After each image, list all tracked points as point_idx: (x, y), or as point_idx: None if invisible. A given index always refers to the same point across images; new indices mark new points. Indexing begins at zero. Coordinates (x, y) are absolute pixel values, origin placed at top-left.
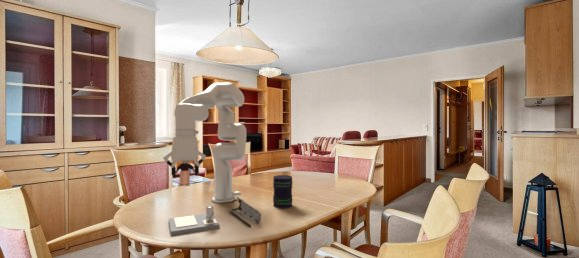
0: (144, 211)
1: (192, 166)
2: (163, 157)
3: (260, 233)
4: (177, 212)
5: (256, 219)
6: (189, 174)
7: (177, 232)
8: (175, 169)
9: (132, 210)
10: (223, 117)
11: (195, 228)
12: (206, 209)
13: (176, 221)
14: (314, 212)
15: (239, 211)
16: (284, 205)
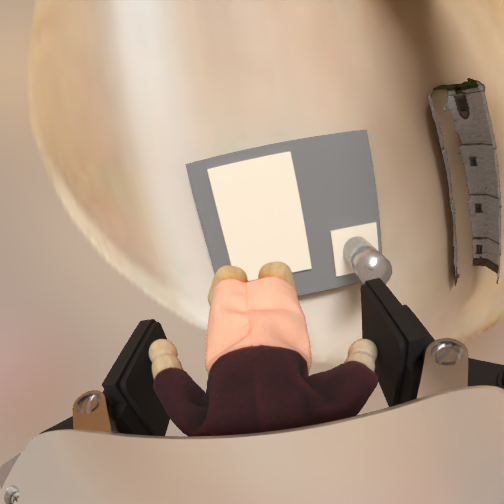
0: (83, 33)
1: (361, 405)
2: (5, 480)
3: (454, 327)
4: (205, 43)
5: (482, 245)
6: (307, 337)
7: None
8: (165, 428)
9: (50, 29)
10: None
11: (303, 293)
12: (359, 278)
13: (225, 218)
14: None
15: (455, 115)
16: None
